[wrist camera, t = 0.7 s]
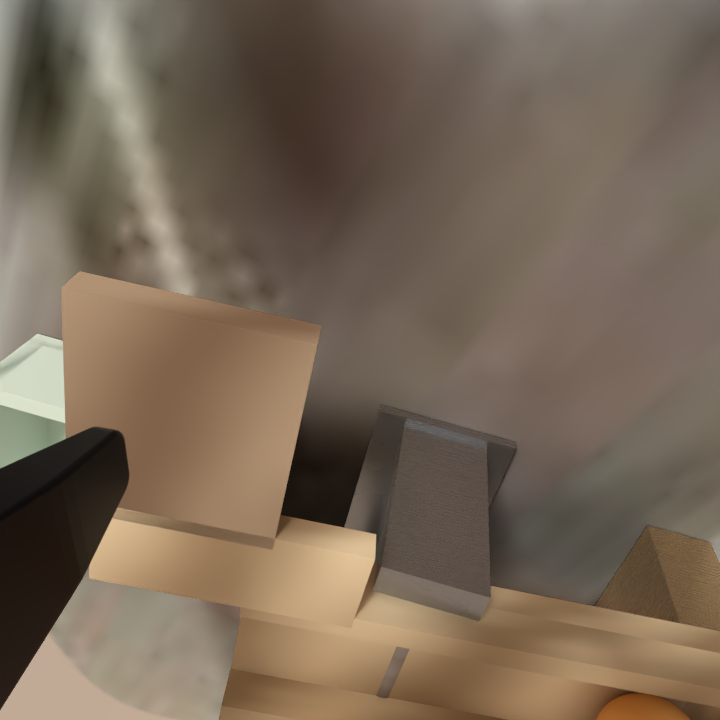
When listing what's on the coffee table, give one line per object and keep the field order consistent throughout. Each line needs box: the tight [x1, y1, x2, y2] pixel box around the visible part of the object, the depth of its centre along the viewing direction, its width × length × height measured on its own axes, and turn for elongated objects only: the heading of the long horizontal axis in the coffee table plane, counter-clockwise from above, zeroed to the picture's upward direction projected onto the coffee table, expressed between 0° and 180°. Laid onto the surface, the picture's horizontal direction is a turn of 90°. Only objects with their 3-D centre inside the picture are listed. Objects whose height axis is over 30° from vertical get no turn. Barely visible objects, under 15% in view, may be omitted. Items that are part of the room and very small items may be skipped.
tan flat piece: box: [61, 271, 720, 720], centre depth 17 cm, size 20×14×3 cm
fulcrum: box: [344, 405, 720, 631], centre depth 22 cm, size 13×9×7 cm
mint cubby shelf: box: [0, 334, 66, 468], centre depth 24 cm, size 10×7×4 cm
